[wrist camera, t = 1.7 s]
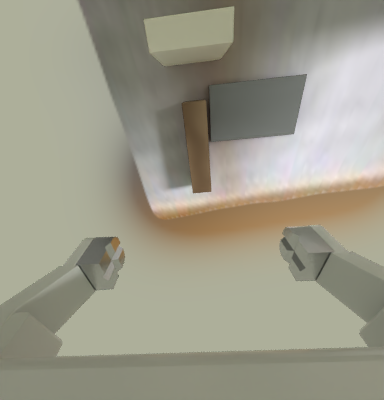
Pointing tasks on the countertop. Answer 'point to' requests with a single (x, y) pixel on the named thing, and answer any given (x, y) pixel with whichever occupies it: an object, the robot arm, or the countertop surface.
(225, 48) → the tile
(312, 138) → the countertop surface
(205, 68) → the countertop surface
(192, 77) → the countertop surface
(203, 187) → the brown long block
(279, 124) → the pad
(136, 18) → the countertop surface
